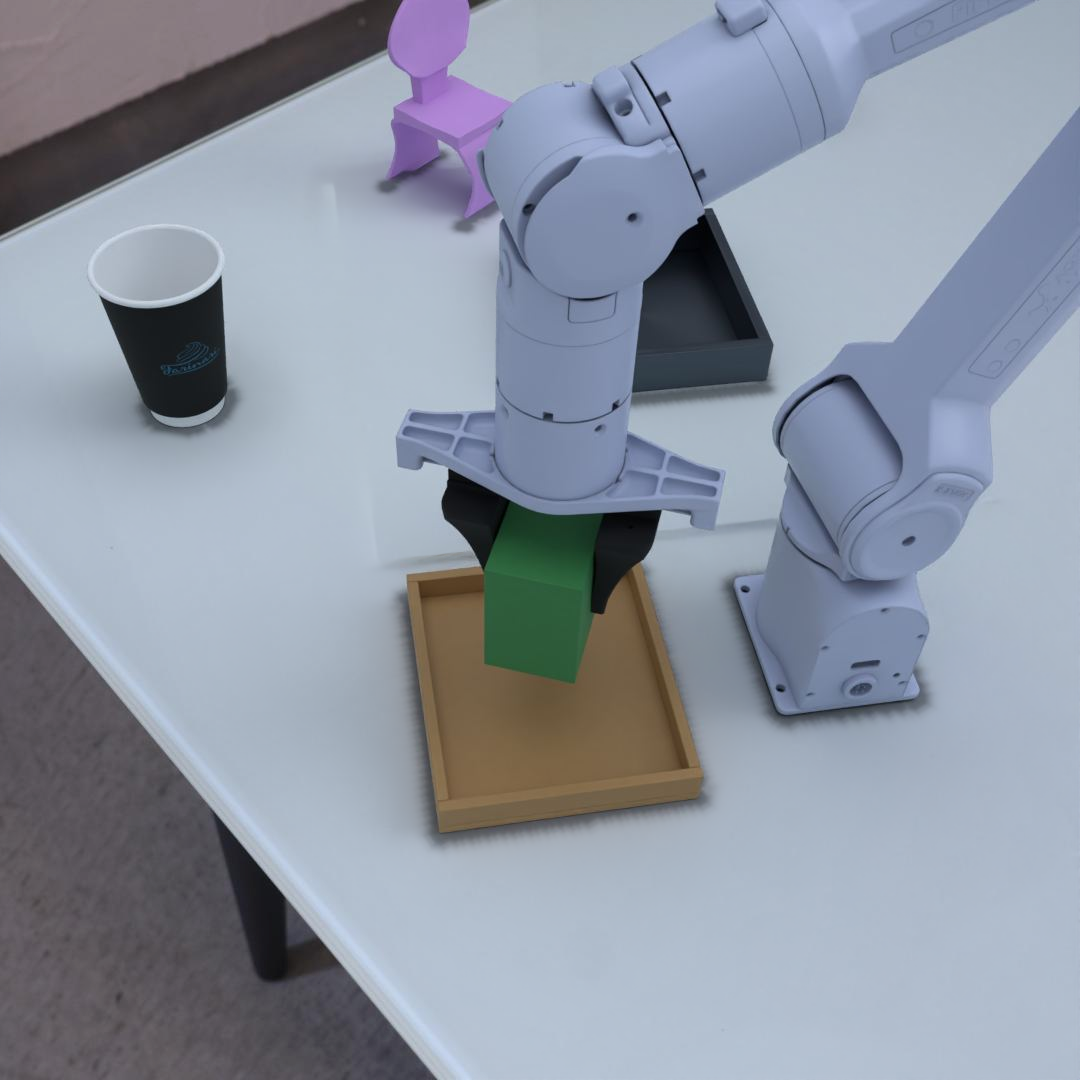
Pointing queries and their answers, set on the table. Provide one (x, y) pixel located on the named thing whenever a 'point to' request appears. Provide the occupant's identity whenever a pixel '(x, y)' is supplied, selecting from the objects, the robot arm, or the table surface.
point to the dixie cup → (167, 316)
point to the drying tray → (547, 713)
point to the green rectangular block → (540, 592)
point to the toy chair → (439, 92)
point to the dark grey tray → (699, 318)
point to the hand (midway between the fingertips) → (551, 587)
